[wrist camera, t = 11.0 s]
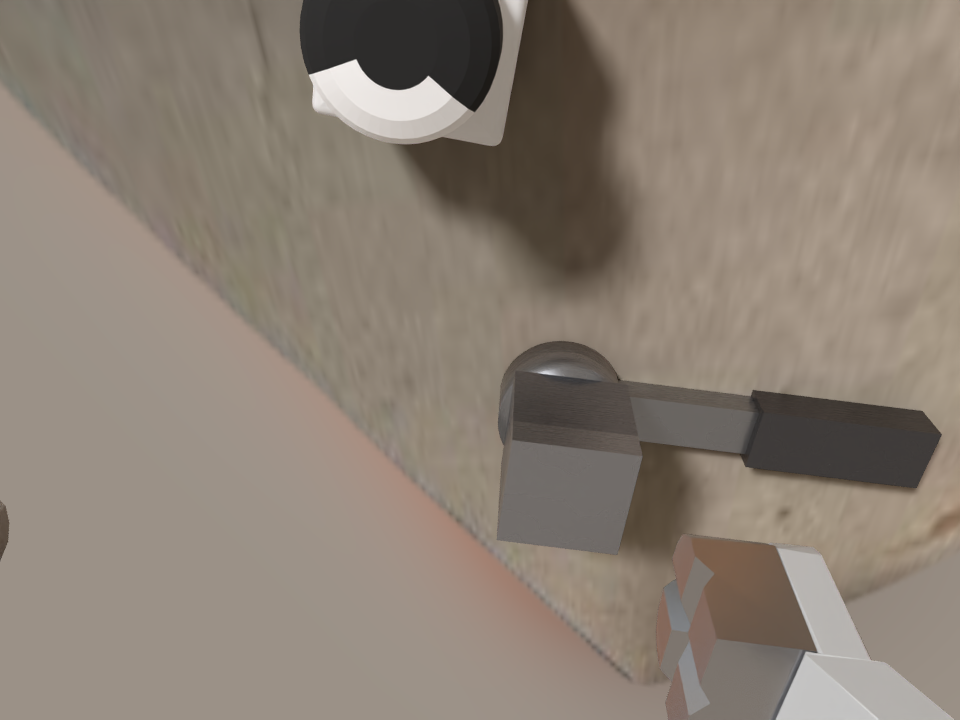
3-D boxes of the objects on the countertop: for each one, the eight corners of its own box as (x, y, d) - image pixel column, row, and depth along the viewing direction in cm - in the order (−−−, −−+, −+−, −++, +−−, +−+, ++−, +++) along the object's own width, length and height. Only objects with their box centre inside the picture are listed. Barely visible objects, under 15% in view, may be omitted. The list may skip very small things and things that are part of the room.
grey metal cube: (627, 384, 38) (642, 456, 32) (606, 474, 40) (617, 554, 35) (515, 370, 38) (512, 440, 32) (501, 461, 40) (496, 539, 35)
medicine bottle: (365, -100, 31) (279, -122, 21) (539, -66, 31) (541, -70, 21) (349, 82, 35) (269, 144, 24) (506, 112, 35) (494, 187, 24)
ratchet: (933, 386, 40) (1006, 467, 34) (888, 485, 43) (947, 575, 37) (508, 334, 40) (503, 405, 34) (493, 435, 43) (487, 517, 37)
